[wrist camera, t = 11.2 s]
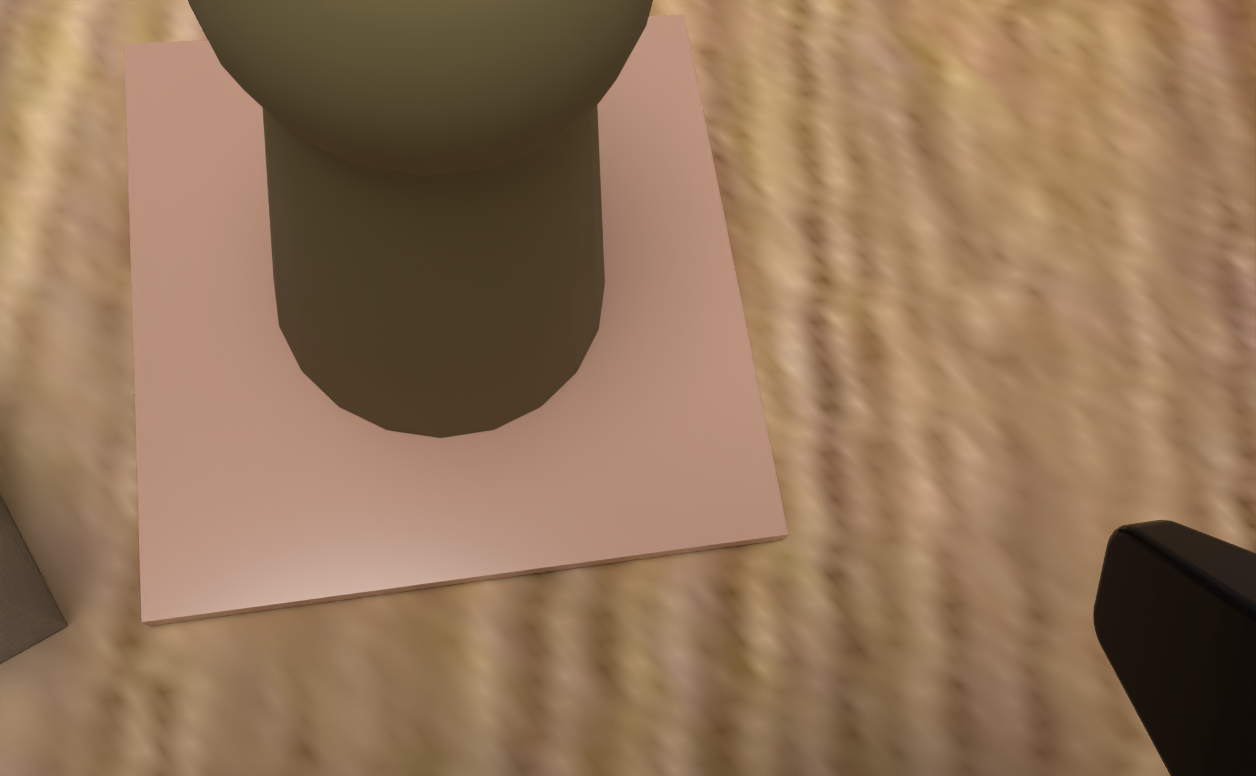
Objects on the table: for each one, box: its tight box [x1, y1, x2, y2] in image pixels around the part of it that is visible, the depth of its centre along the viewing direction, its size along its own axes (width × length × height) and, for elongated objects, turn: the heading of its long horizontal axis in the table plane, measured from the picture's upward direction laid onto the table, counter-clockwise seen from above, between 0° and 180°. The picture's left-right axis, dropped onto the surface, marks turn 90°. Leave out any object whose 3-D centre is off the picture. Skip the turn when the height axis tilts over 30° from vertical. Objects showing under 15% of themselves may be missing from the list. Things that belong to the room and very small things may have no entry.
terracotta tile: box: [124, 14, 788, 626], centre depth 22 cm, size 11×11×1 cm
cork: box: [188, 0, 653, 438], centre depth 16 cm, size 6×6×11 cm
